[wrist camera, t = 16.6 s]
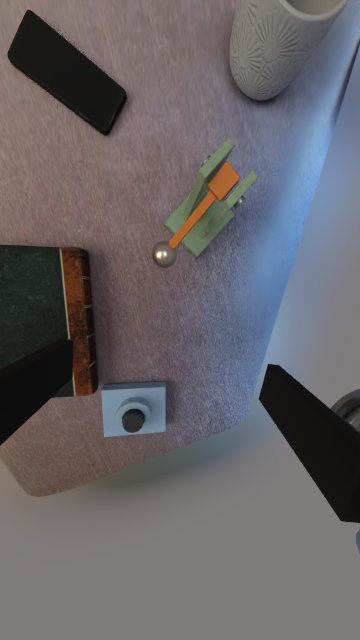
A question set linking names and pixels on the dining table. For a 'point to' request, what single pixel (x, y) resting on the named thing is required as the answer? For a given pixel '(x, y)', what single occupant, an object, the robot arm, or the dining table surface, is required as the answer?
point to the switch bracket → (218, 211)
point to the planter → (276, 41)
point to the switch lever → (196, 214)
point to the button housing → (134, 406)
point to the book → (48, 308)
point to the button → (133, 420)
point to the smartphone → (66, 73)
